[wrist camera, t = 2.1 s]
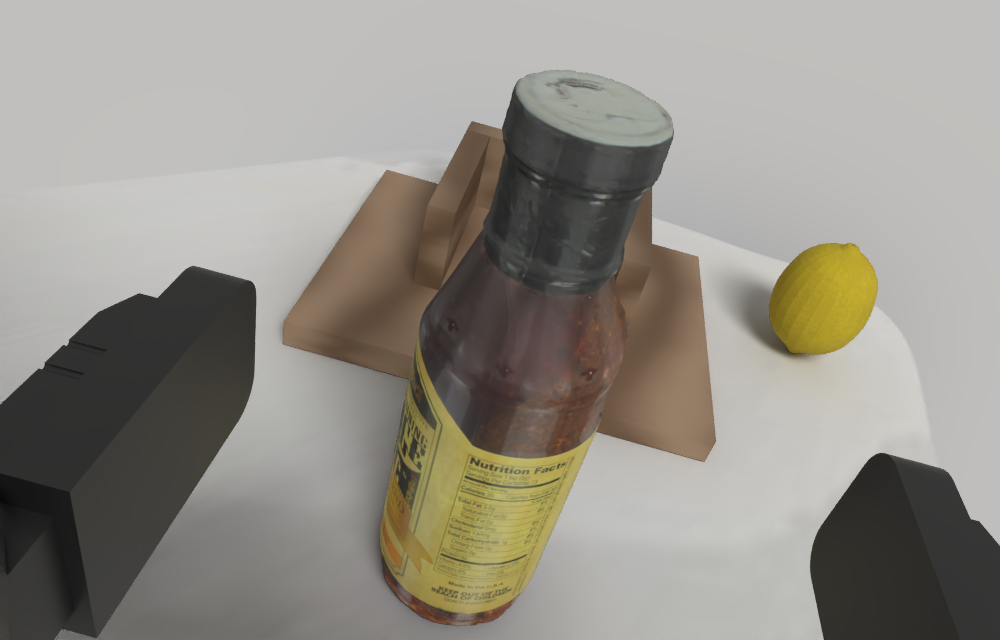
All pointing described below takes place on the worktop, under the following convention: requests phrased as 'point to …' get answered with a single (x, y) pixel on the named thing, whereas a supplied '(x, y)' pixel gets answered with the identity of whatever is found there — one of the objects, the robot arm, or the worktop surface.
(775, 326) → the lemon
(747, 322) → the worktop surface
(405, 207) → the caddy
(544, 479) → the sauce bottle
